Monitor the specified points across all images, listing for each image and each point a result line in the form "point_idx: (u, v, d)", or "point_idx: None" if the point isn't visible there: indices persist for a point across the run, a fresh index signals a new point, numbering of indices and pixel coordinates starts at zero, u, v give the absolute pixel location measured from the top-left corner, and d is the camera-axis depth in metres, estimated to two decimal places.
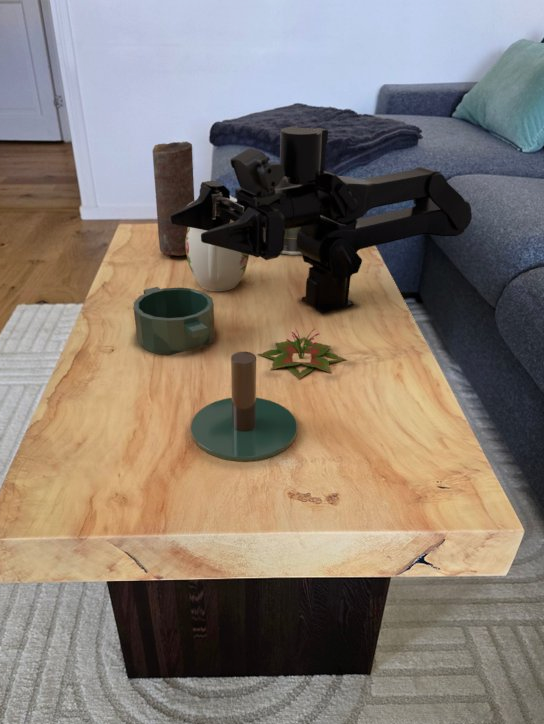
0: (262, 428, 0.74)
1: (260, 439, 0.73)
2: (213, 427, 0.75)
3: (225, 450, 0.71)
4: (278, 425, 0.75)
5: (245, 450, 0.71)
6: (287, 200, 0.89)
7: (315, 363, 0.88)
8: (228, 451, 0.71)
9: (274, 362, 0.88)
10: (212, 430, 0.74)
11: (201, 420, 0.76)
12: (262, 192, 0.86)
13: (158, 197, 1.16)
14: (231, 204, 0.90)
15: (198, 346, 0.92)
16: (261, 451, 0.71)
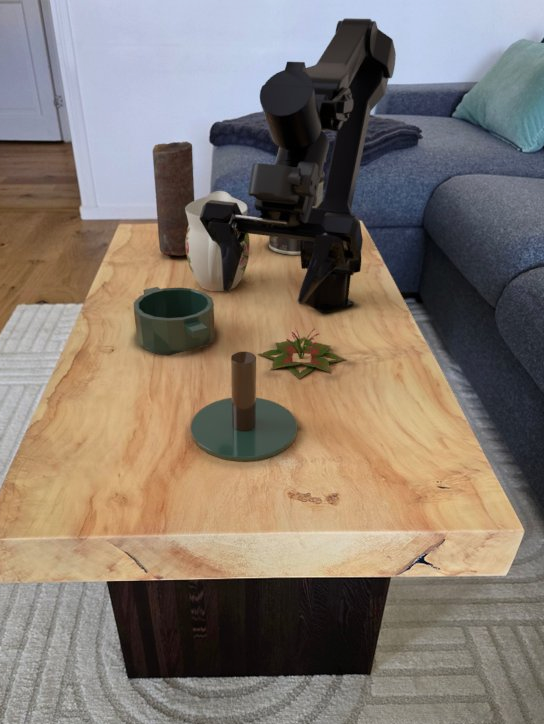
0: (262, 428, 0.74)
1: (260, 439, 0.73)
2: (213, 427, 0.75)
3: (225, 450, 0.71)
4: (278, 425, 0.75)
5: (245, 450, 0.71)
6: None
7: (315, 363, 0.88)
8: (228, 451, 0.71)
9: (274, 362, 0.88)
10: (212, 430, 0.74)
11: (201, 420, 0.76)
12: (300, 197, 0.70)
13: (158, 197, 1.16)
14: (260, 221, 0.74)
15: (198, 346, 0.92)
16: (261, 451, 0.71)
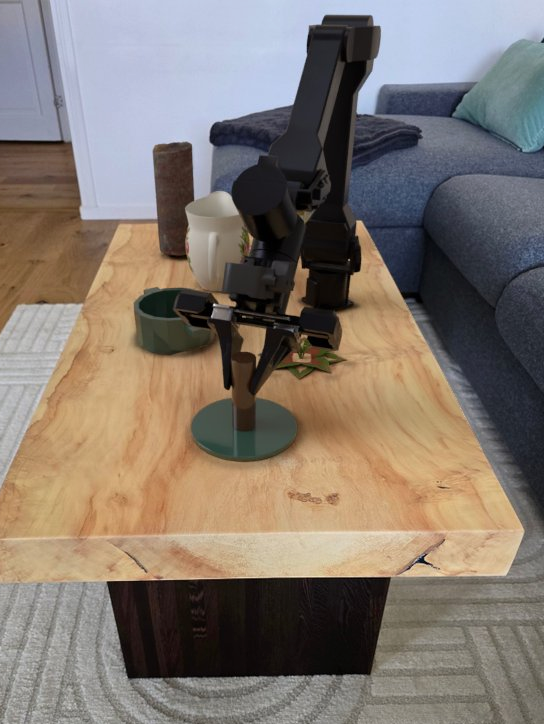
0: (262, 428, 0.74)
1: (260, 439, 0.73)
2: (213, 427, 0.75)
3: (225, 450, 0.71)
4: (278, 425, 0.75)
5: (245, 450, 0.71)
6: (286, 261, 0.70)
7: (315, 363, 0.88)
8: (228, 451, 0.71)
9: None
10: (212, 430, 0.74)
11: (201, 420, 0.76)
12: (276, 292, 0.68)
13: (158, 197, 1.16)
14: (261, 316, 0.70)
15: (198, 346, 0.92)
16: (261, 451, 0.71)
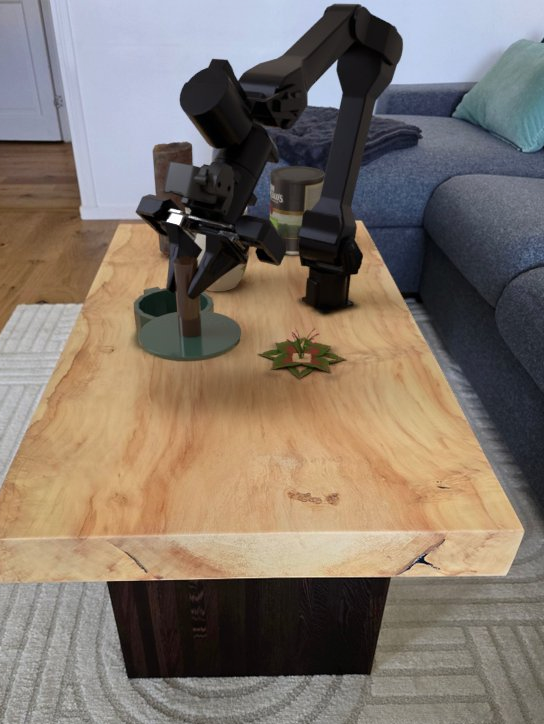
0: (205, 337, 0.77)
1: (196, 344, 0.75)
2: (161, 330, 0.78)
3: (159, 349, 0.74)
4: (221, 336, 0.77)
5: (177, 351, 0.74)
6: (240, 171, 0.71)
7: (315, 363, 0.88)
8: (161, 350, 0.74)
9: (274, 362, 0.88)
10: (158, 332, 0.78)
11: (154, 324, 0.80)
12: (219, 198, 0.70)
13: None
14: (209, 224, 0.72)
15: None
16: (191, 354, 0.73)
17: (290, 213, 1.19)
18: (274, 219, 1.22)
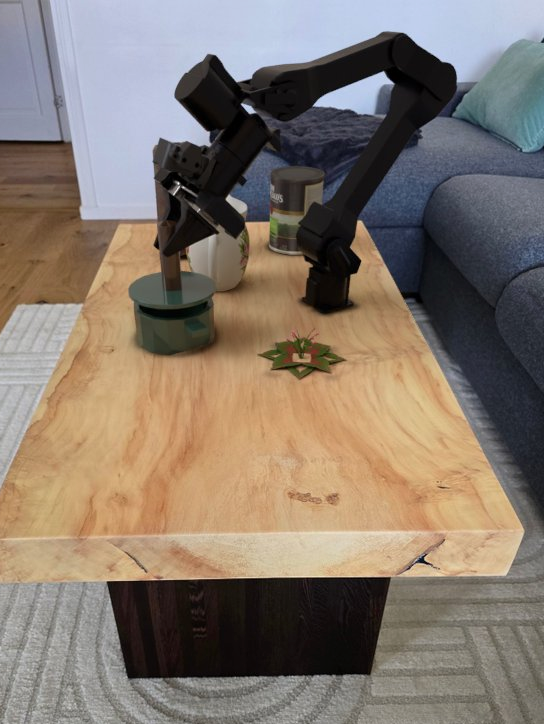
0: (178, 292, 0.89)
1: (165, 296, 0.88)
2: (152, 281, 0.93)
3: (135, 293, 0.89)
4: (191, 294, 0.89)
5: (146, 298, 0.88)
6: (225, 153, 0.82)
7: (315, 363, 0.88)
8: (136, 294, 0.89)
9: (274, 362, 0.88)
10: (149, 282, 0.92)
11: (153, 276, 0.94)
12: (196, 173, 0.81)
13: (158, 197, 1.16)
14: (193, 195, 0.84)
15: (198, 346, 0.92)
16: (153, 302, 0.87)
17: (290, 213, 1.19)
18: (274, 219, 1.22)
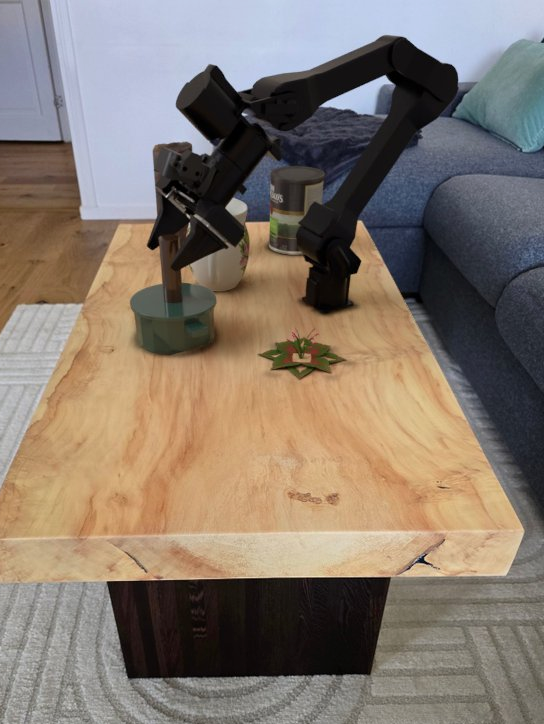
0: (179, 305, 0.91)
1: (166, 309, 0.90)
2: (154, 293, 0.94)
3: (137, 305, 0.91)
4: (191, 307, 0.90)
5: (148, 310, 0.89)
6: (225, 162, 0.83)
7: (315, 363, 0.88)
8: (137, 307, 0.90)
9: (274, 362, 0.88)
10: (150, 294, 0.94)
11: (155, 288, 0.96)
12: (196, 181, 0.82)
13: None
14: (185, 197, 0.87)
15: (198, 346, 0.92)
16: (154, 314, 0.88)
17: (290, 213, 1.19)
18: (274, 219, 1.22)
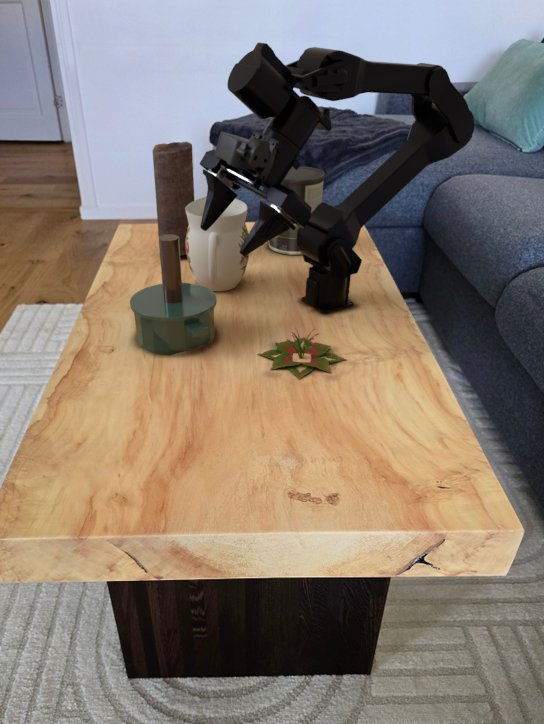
0: (179, 305, 0.91)
1: (166, 309, 0.90)
2: (154, 293, 0.94)
3: (137, 305, 0.91)
4: (191, 307, 0.90)
5: (148, 310, 0.89)
6: (284, 141, 0.84)
7: (315, 363, 0.88)
8: (137, 307, 0.90)
9: (274, 362, 0.88)
10: (150, 294, 0.94)
11: (155, 288, 0.96)
12: None
13: (158, 197, 1.16)
14: (239, 177, 0.88)
15: (198, 346, 0.92)
16: (154, 314, 0.88)
17: None
18: None
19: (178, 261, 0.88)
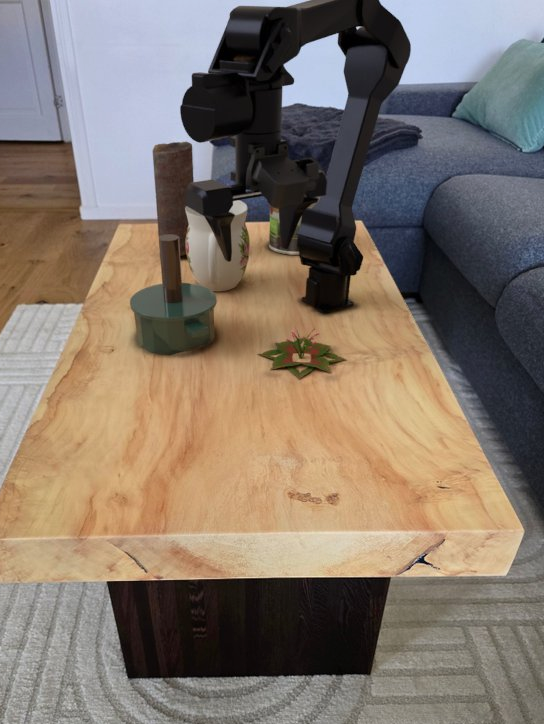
0: (179, 305, 0.91)
1: (166, 309, 0.90)
2: (154, 293, 0.94)
3: (137, 305, 0.91)
4: (191, 307, 0.90)
5: (148, 310, 0.89)
6: (280, 135, 0.78)
7: (315, 363, 0.88)
8: (137, 307, 0.90)
9: (274, 362, 0.88)
10: (150, 294, 0.94)
11: (155, 288, 0.96)
12: None
13: (158, 197, 1.16)
14: None
15: (198, 346, 0.92)
16: (154, 314, 0.88)
17: None
18: (274, 219, 1.22)
19: (178, 261, 0.88)
